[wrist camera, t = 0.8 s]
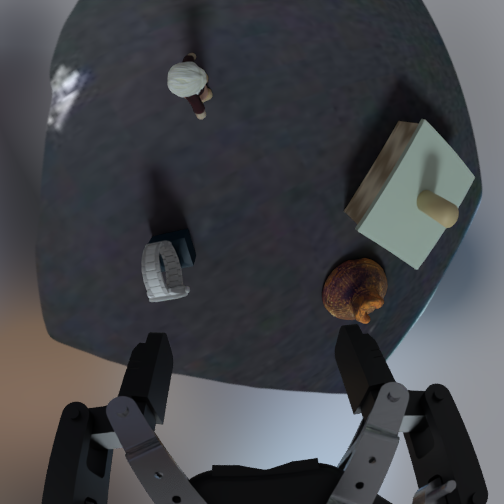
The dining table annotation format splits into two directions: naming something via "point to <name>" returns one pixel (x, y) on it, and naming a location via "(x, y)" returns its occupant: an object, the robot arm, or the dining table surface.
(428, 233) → the lid
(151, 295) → the watch
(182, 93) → the grandmother figurine
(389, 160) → the box
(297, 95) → the dining table surface
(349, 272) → the brown rounded piece
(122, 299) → the dining table surface
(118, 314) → the dining table surface
